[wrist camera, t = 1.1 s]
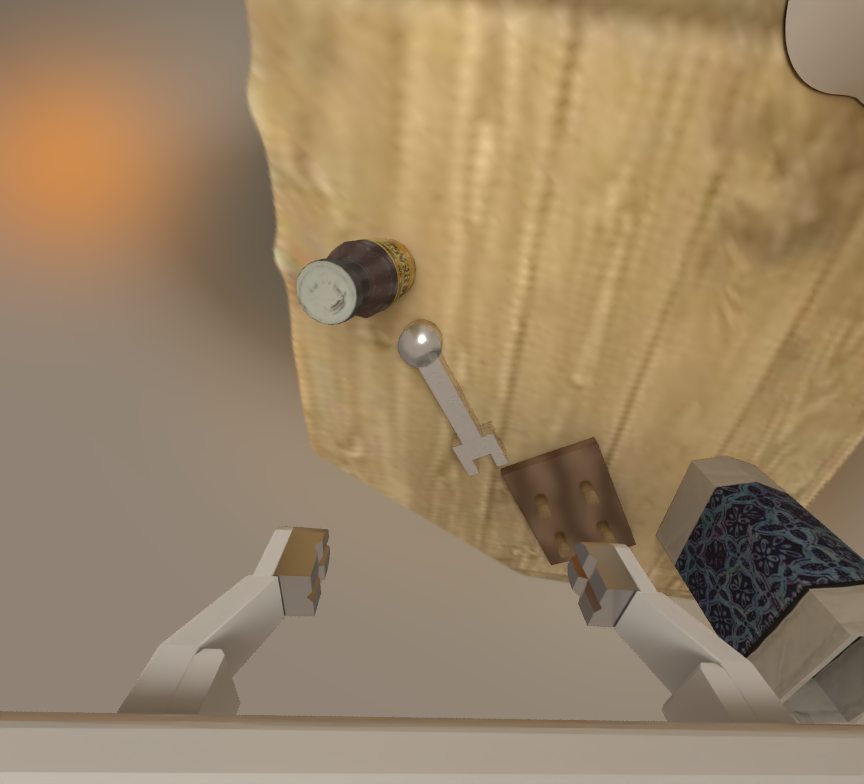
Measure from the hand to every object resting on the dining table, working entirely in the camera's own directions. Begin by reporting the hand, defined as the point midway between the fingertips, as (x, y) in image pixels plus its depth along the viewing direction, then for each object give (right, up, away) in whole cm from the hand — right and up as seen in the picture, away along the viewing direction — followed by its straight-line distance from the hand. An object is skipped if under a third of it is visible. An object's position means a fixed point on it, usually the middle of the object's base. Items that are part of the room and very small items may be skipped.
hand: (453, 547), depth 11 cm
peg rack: (+21, -13, +42) cm, 49 cm away
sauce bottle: (-5, +20, +28) cm, 35 cm away
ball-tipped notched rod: (+2, +5, +34) cm, 35 cm away
